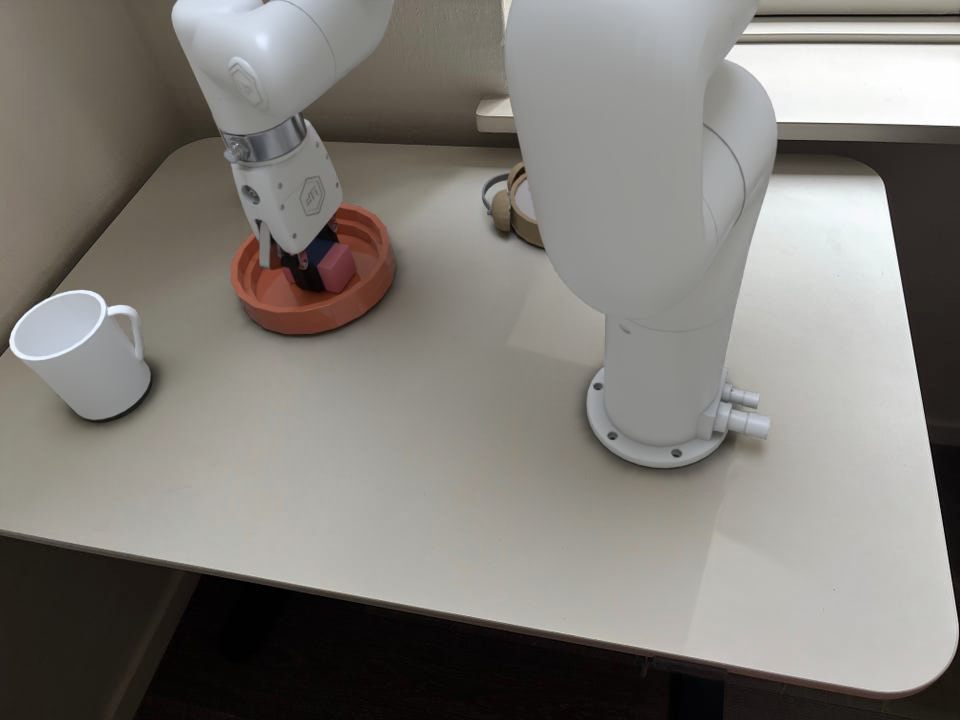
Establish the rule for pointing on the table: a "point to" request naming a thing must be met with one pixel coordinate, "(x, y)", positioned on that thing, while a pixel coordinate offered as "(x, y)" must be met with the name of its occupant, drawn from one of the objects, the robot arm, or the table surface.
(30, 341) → the mug
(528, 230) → the alarm clock
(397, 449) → the table surface
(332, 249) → the eraser
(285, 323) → the bowl
